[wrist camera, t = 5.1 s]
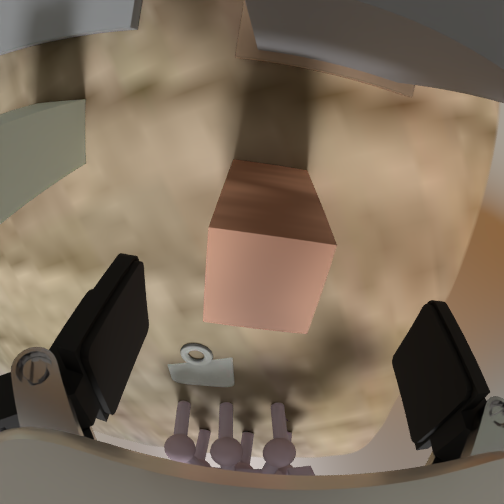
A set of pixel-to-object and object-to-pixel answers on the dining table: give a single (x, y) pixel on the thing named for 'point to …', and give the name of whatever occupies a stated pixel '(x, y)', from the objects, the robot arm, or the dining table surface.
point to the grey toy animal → (234, 444)
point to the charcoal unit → (383, 41)
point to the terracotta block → (267, 250)
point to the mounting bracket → (202, 369)
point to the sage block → (38, 150)
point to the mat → (62, 20)
